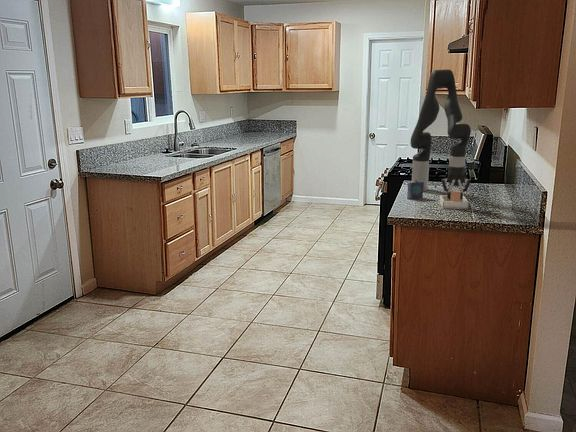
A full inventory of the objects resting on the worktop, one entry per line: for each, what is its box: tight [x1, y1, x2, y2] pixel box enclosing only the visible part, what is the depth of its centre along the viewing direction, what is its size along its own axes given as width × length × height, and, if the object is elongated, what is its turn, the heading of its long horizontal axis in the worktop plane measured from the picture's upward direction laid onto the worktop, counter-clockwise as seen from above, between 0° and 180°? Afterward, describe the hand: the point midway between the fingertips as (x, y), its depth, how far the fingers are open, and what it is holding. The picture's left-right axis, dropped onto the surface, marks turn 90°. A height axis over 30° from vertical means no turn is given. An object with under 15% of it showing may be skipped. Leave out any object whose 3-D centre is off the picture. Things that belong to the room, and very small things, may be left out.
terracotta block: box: [450, 190, 461, 201], centre depth 249 cm, size 4×4×4 cm
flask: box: [406, 178, 424, 200], centre depth 270 cm, size 9×3×11 cm, turn 109°
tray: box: [439, 194, 469, 210], centre depth 253 cm, size 15×12×4 cm
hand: (454, 199), depth 249 cm, fingers closed on terracotta block, 4 cm apart
